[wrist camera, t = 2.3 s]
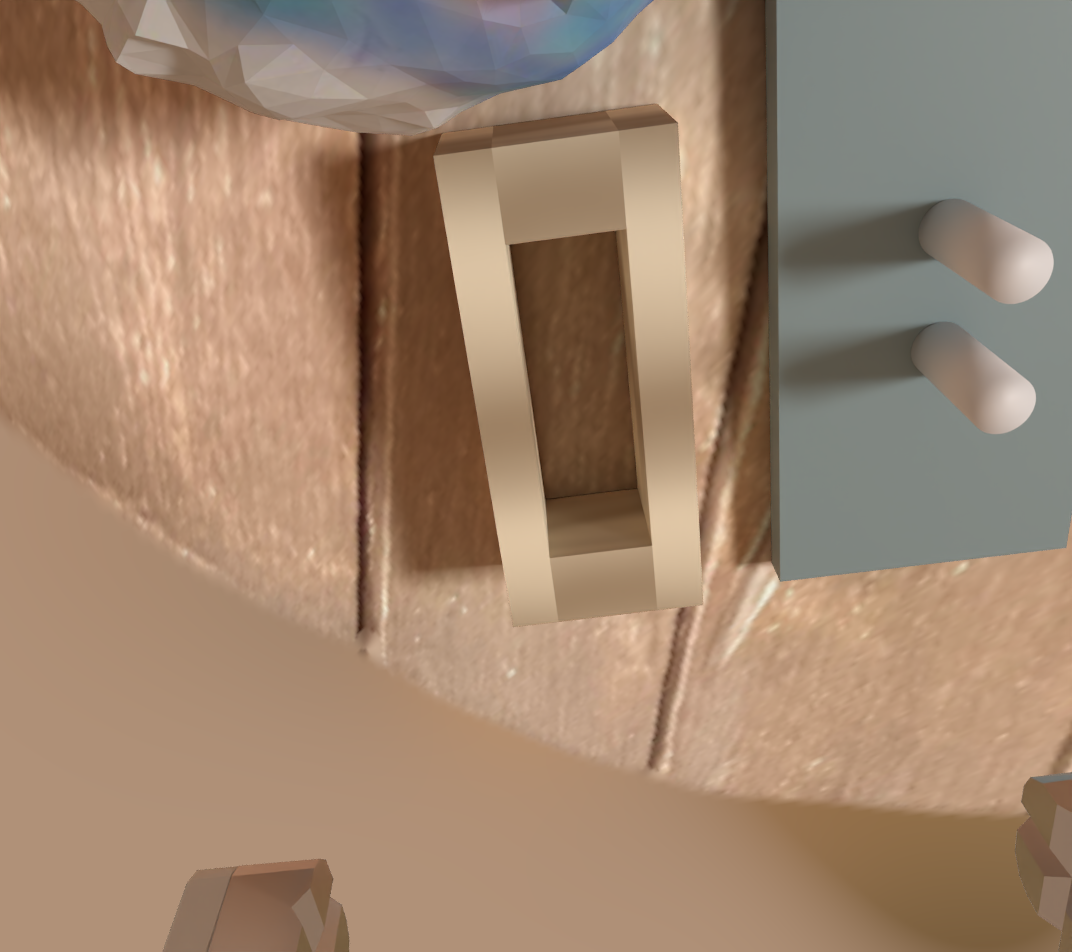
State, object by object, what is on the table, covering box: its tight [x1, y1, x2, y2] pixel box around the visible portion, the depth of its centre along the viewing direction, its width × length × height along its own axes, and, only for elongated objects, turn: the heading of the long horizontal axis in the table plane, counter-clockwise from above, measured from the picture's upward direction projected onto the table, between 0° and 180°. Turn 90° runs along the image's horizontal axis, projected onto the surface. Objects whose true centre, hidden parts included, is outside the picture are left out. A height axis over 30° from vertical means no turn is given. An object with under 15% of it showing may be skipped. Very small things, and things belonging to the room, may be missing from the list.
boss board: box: [765, 0, 1072, 582], centre depth 22 cm, size 16×8×4 cm, turn 7°
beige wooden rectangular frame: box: [433, 104, 703, 627], centre depth 24 cm, size 12×5×3 cm, turn 7°
